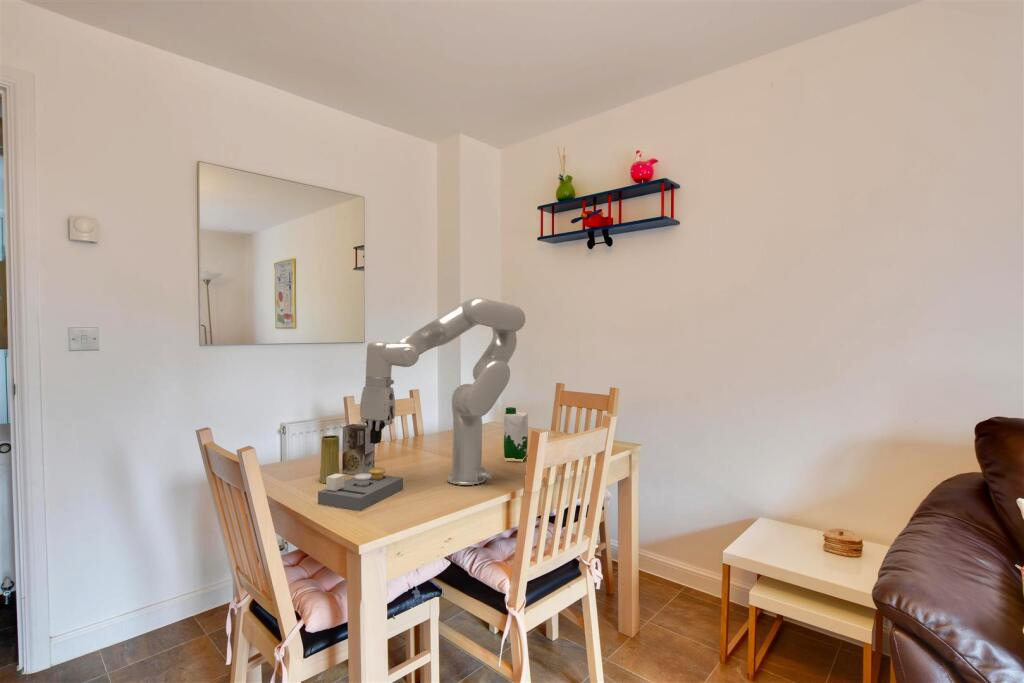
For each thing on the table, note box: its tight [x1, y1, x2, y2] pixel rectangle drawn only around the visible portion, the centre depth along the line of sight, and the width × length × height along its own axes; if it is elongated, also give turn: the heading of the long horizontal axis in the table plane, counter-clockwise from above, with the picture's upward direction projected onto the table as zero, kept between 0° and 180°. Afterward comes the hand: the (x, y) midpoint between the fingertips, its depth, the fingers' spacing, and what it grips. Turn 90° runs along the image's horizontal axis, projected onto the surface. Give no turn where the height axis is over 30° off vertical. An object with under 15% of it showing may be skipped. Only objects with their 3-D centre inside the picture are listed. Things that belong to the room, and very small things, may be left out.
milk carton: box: [503, 406, 529, 459], centre depth 192 cm, size 9×9×20 cm
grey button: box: [353, 473, 372, 487], centre depth 145 cm, size 5×5×3 cm
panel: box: [317, 473, 404, 512], centre depth 145 cm, size 14×21×4 cm, turn 160°
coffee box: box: [341, 423, 376, 476], centre depth 170 cm, size 9×6×16 cm
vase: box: [319, 434, 340, 484], centre depth 159 cm, size 6×6×14 cm
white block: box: [325, 473, 346, 491], centre depth 140 cm, size 3×4×6 cm
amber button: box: [369, 467, 386, 481], centre depth 151 cm, size 5×5×3 cm
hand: (375, 442), depth 151 cm, fingers closed
